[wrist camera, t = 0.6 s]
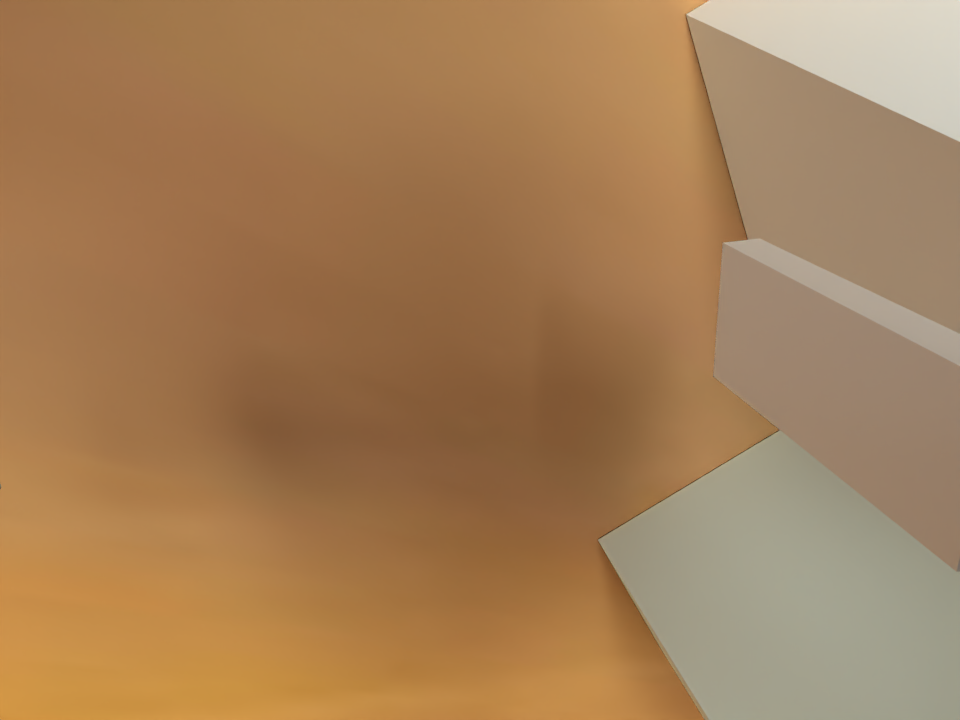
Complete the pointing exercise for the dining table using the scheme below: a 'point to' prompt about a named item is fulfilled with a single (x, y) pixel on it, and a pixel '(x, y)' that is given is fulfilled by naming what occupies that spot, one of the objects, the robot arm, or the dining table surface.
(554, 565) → the dining table surface
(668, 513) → the grey-green rectangular block
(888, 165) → the taupe rectangular block
